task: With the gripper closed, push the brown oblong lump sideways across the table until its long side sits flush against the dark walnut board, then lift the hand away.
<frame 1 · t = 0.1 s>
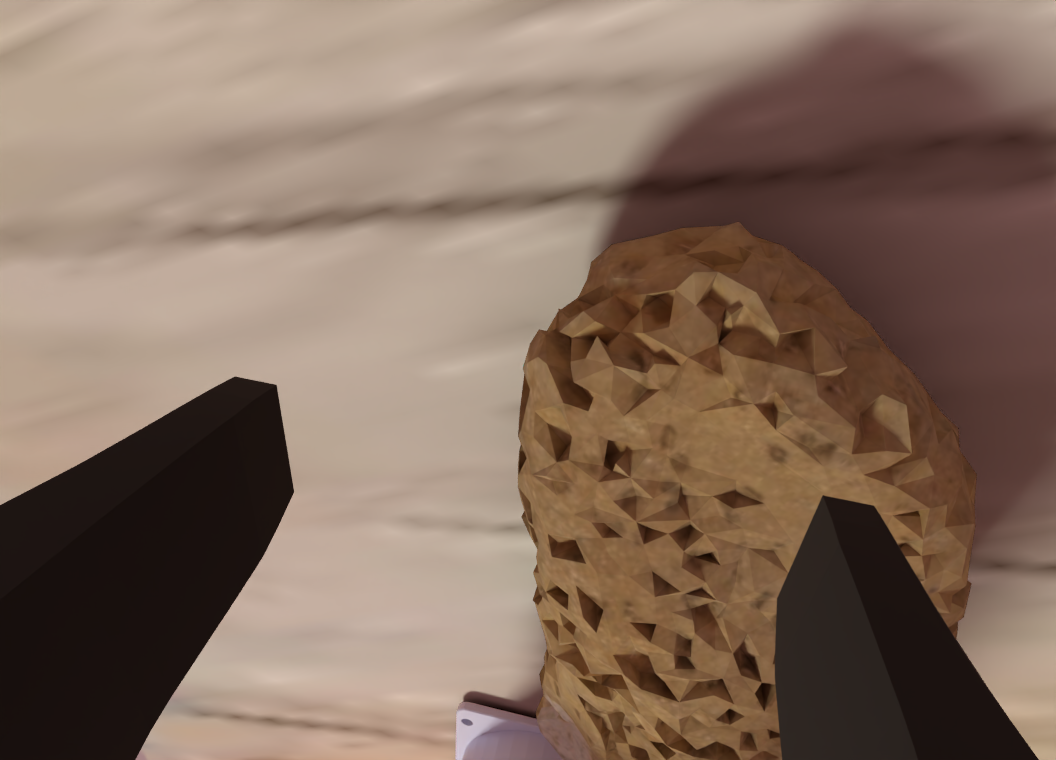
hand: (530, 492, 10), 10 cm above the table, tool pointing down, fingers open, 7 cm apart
brown oblong lump: (711, 501, 23), on the table
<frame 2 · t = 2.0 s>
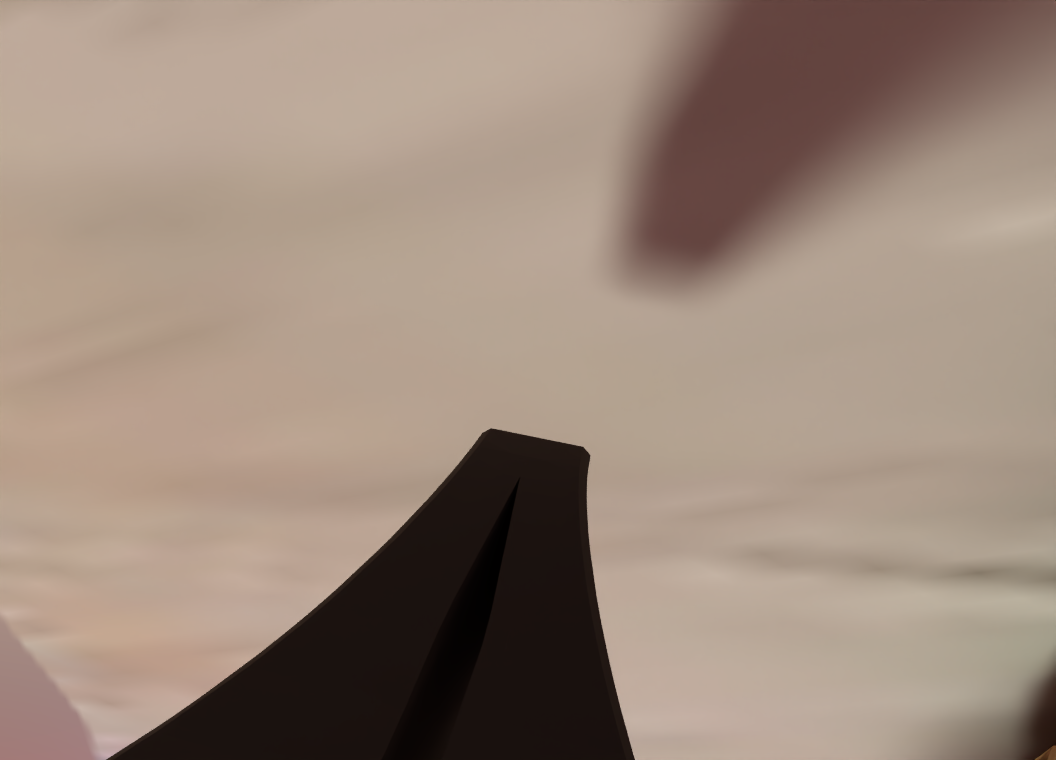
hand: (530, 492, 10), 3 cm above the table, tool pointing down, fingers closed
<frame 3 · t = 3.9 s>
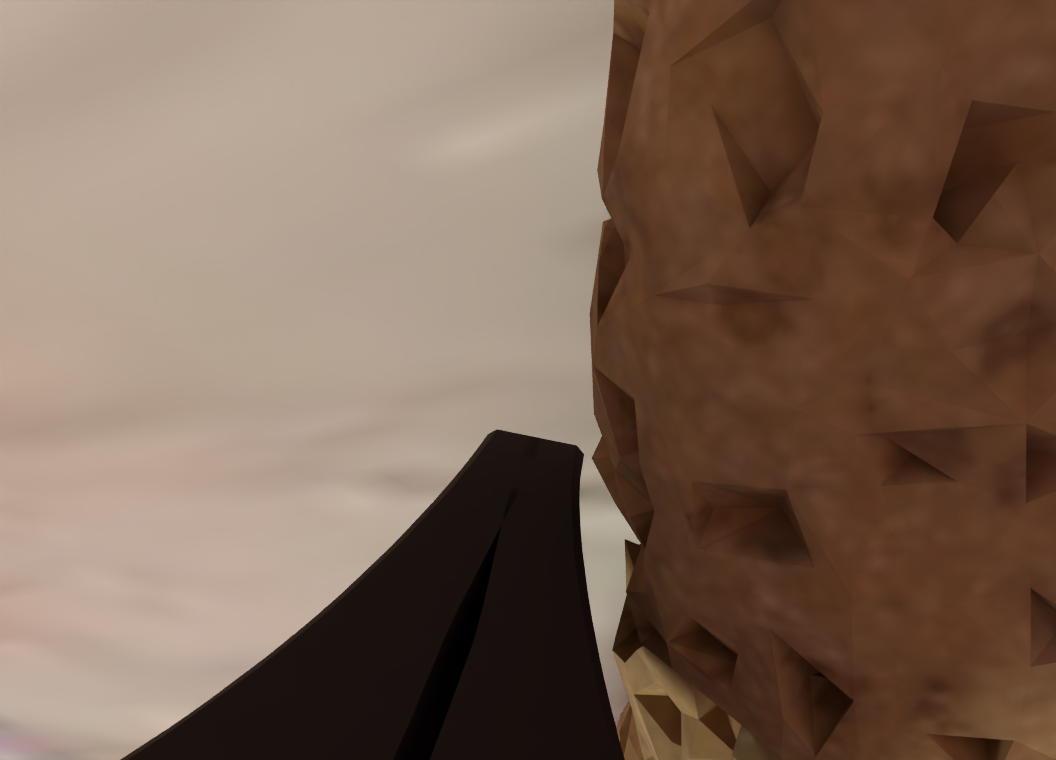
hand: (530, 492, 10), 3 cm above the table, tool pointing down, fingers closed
brown oblong lump: (946, 442, 12), on the table, touching gripper
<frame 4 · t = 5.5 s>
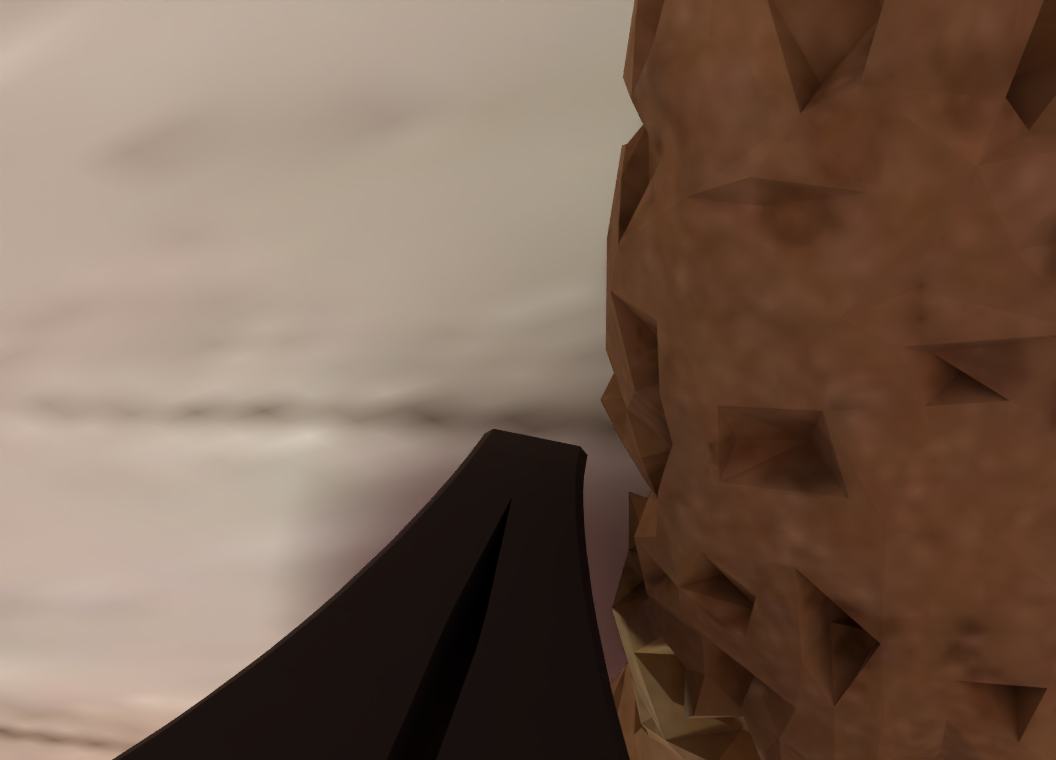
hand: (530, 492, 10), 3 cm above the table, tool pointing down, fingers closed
brown oblong lump: (954, 409, 12), on the table, touching gripper
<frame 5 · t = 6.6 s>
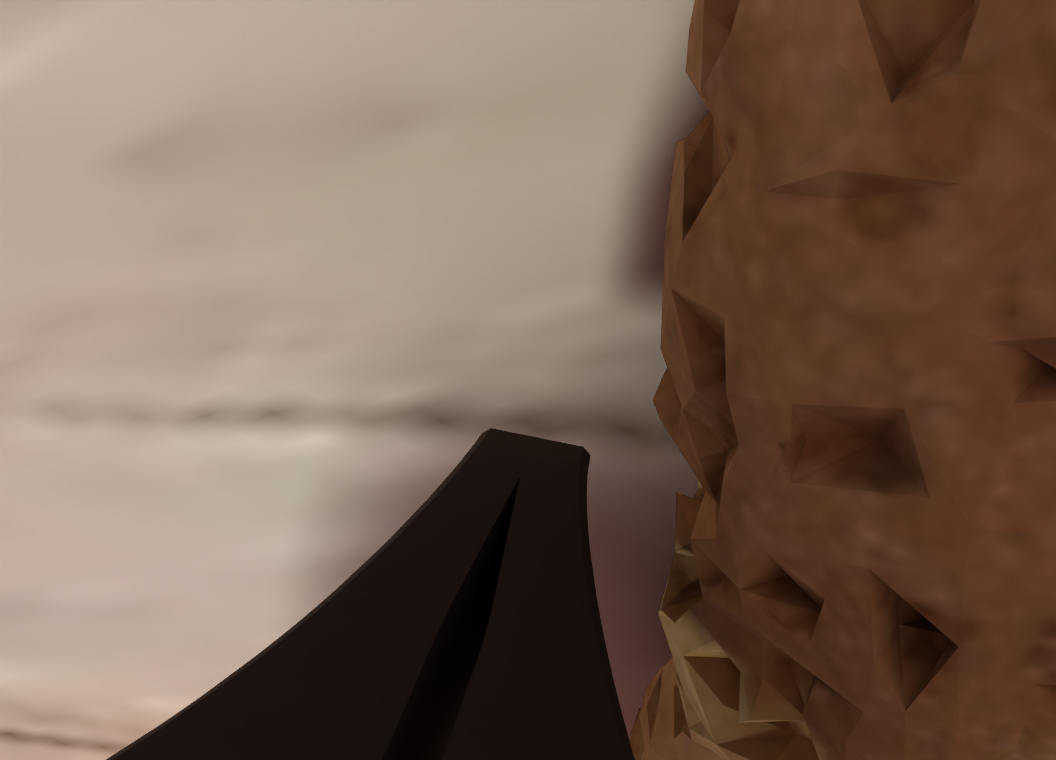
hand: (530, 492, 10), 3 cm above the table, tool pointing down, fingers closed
brown oblong lump: (997, 407, 12), on the table
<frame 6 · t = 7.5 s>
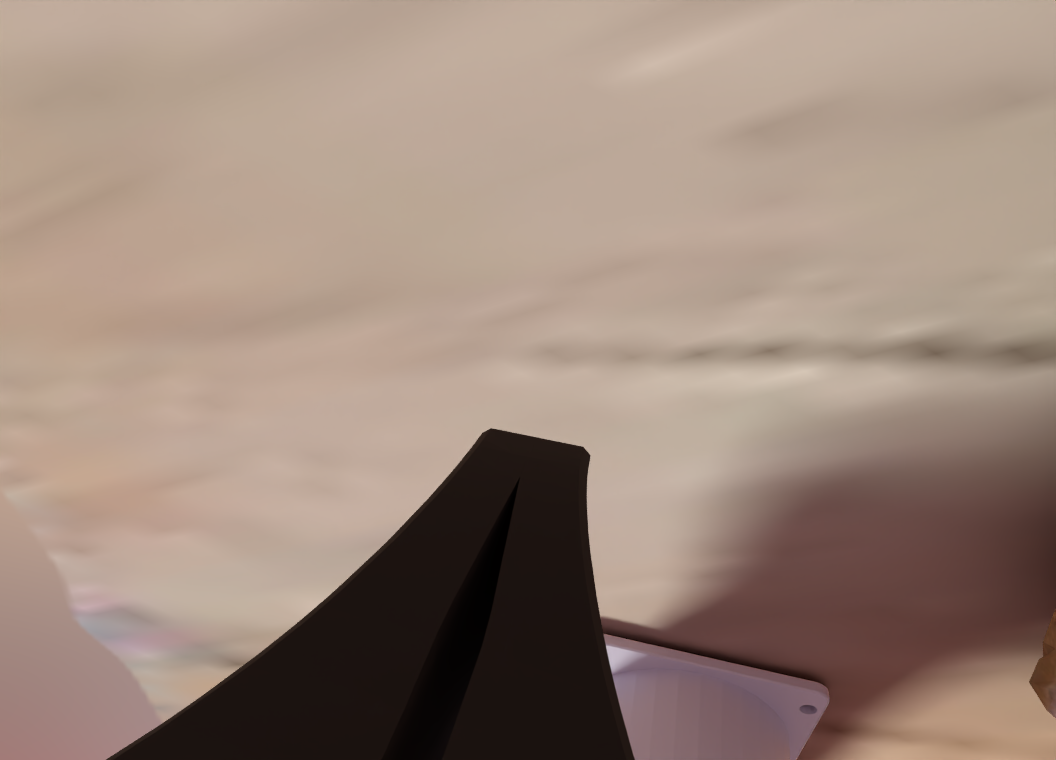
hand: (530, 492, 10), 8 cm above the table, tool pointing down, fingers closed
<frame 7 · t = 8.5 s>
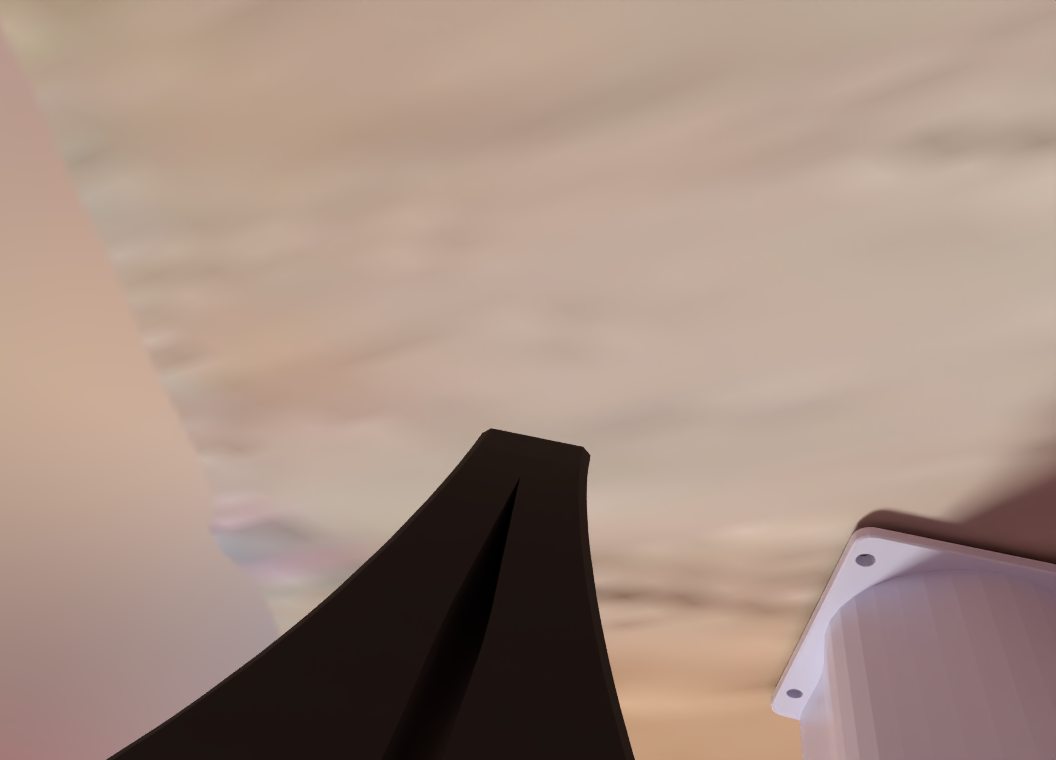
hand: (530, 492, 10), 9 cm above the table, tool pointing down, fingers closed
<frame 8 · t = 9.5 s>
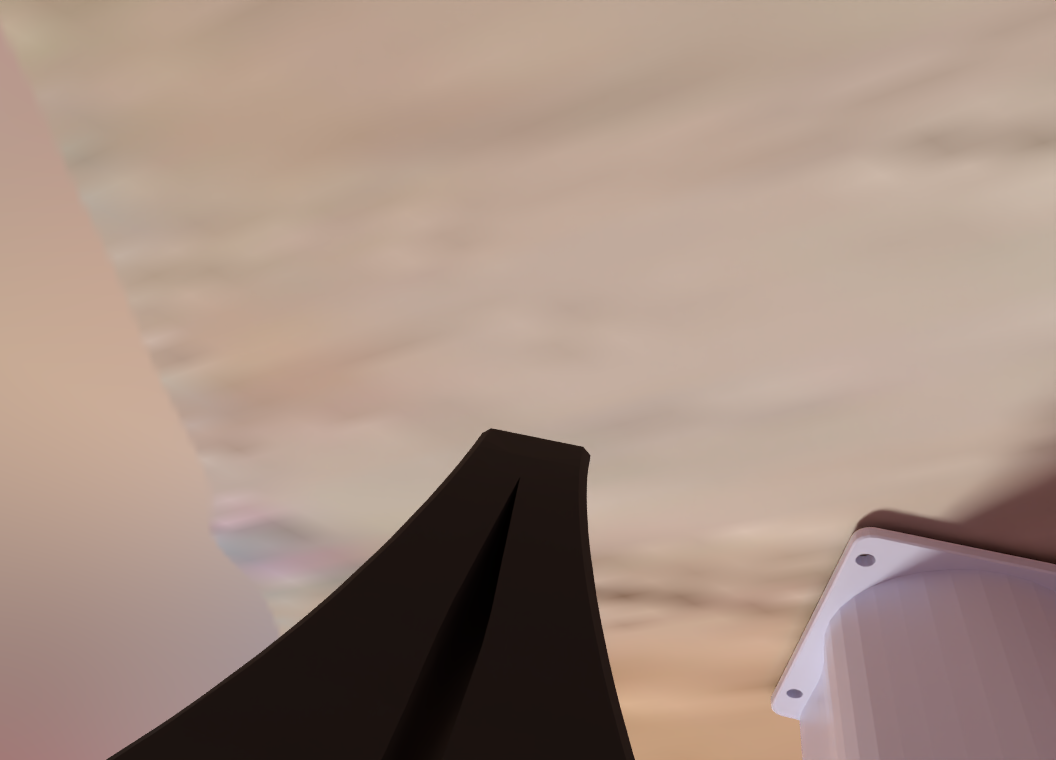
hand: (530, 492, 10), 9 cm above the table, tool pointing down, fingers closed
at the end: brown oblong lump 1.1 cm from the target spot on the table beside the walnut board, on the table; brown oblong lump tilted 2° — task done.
